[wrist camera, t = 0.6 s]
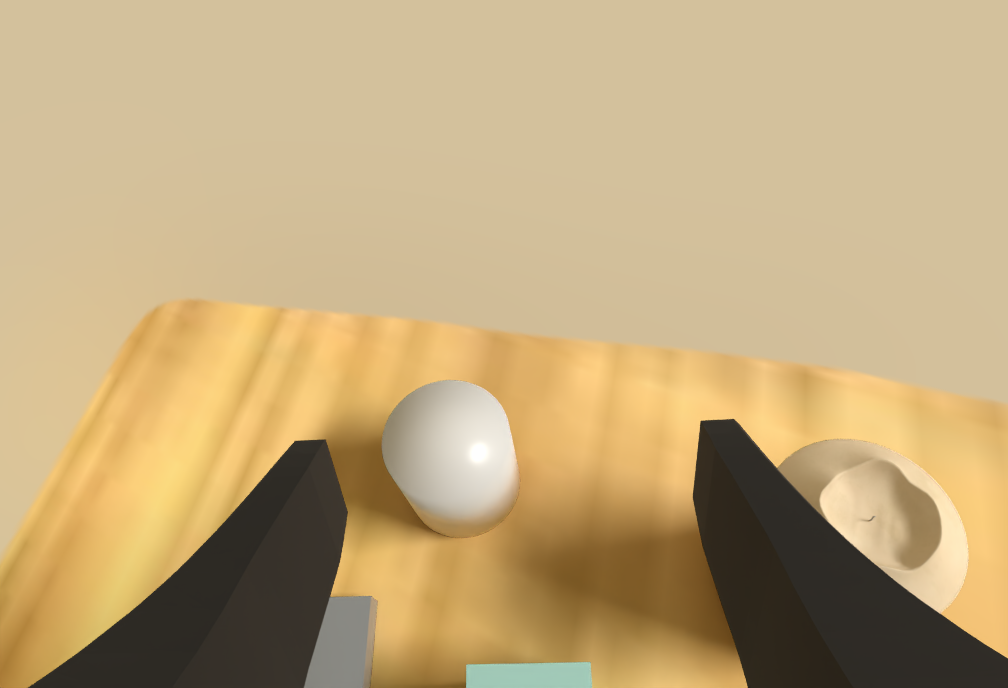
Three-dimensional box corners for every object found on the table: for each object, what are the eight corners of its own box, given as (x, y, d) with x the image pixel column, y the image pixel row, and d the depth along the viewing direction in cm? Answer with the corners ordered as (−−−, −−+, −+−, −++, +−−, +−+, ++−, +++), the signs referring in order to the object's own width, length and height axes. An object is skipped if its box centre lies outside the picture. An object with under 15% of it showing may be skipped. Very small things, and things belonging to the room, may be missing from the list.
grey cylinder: (521, 536, 29) (510, 497, 25) (405, 540, 30) (376, 503, 25) (519, 428, 32) (509, 376, 28) (413, 433, 32) (387, 383, 28)
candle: (701, 633, 26) (756, 572, 18) (732, 502, 29) (794, 395, 20) (852, 691, 25) (990, 655, 16) (872, 548, 27) (1000, 453, 19)
